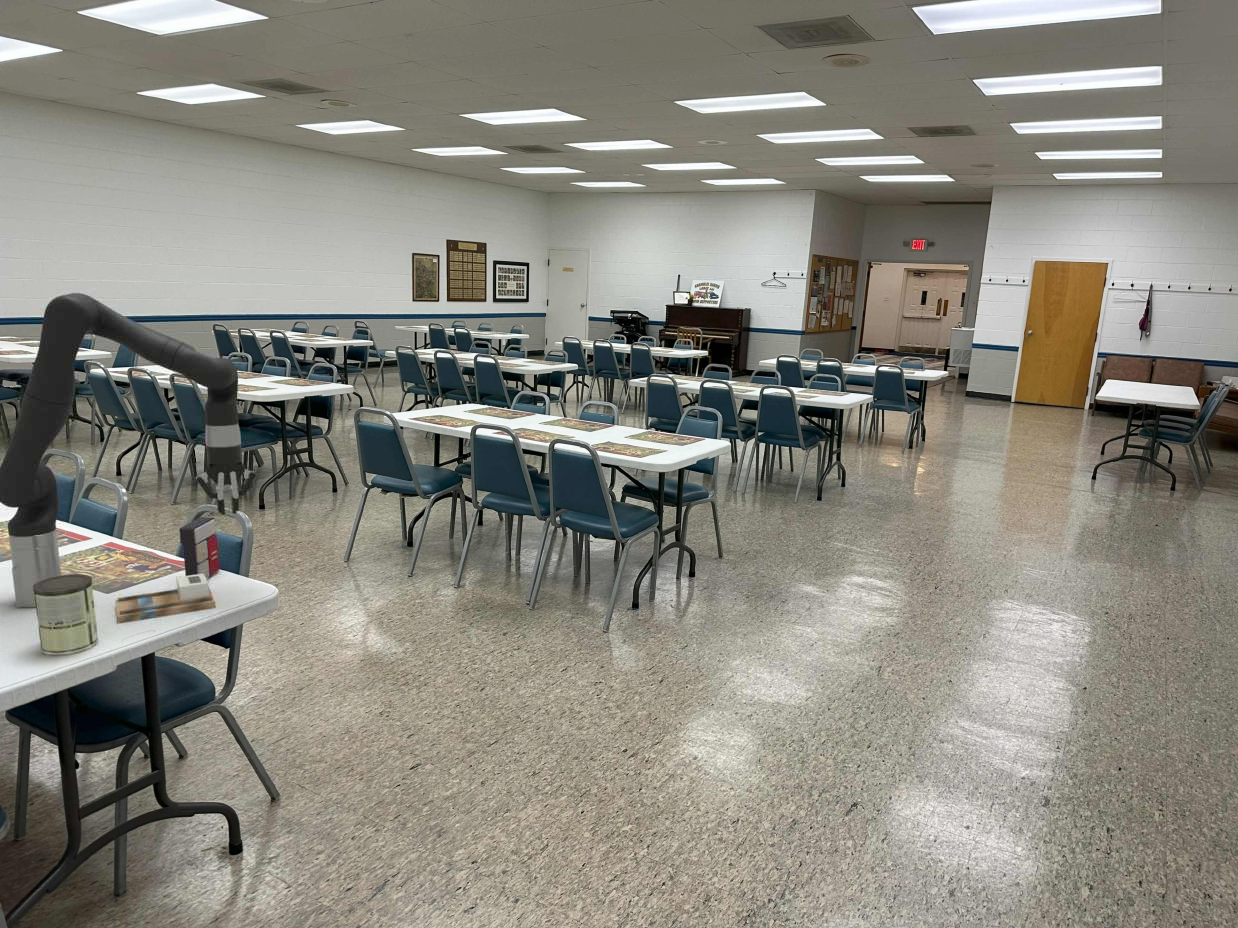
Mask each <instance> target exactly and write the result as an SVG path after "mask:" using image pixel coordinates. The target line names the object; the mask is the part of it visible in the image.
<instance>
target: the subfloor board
mask: <svg viewBox="0 0 1238 928" xmlns="http://www.w3.org/2000/svg"><path fill="white" fill-rule="evenodd" d="M208 588H209V597H205V598H199V599H192V600H186V601H180V598H179V595H178V590H177V588H175V589H168V590H161V591H155V592H148V593H142V594H136V595H129V596H122V597H117V599H115V602H114V603H115V611H116V619H117V624H120V623H121V624H122V623H127V622H134V621H140V620H147V619H151V618H159V617H165V616H171V615H177V614H183V613H189V612H191V613H192V612H197V611H202V610H208V609H213V608H217V607H216V600H215V598H214V595H213V594H212V591H211V589H210V586H209V585H208Z"/></svg>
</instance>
